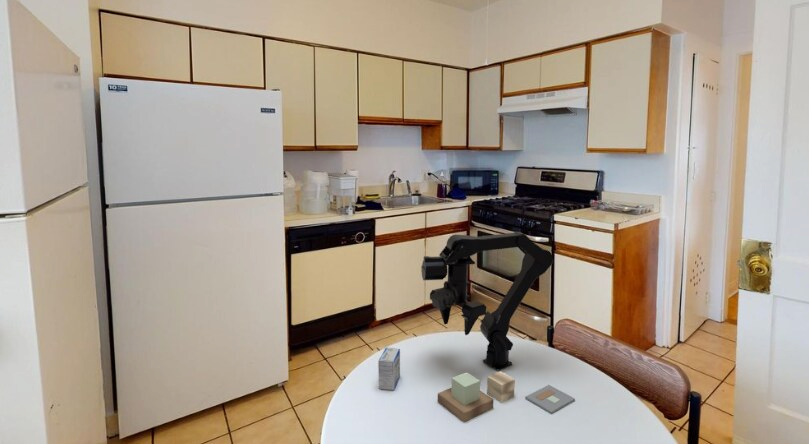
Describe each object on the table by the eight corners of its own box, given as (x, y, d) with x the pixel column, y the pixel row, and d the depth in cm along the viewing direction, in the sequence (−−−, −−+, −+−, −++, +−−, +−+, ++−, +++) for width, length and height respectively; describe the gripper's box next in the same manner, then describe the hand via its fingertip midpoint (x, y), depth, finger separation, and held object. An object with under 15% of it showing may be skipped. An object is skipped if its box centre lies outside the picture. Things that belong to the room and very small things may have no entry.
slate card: (548, 386, 117) (548, 384, 116) (574, 400, 110) (575, 398, 110) (525, 398, 111) (525, 396, 111) (551, 414, 104) (551, 411, 104)
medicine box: (394, 391, 114) (394, 361, 113) (378, 389, 115) (378, 359, 114) (400, 376, 122) (400, 348, 120) (385, 374, 123) (385, 346, 121)
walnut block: (466, 391, 115) (466, 381, 114) (493, 410, 107) (493, 399, 106) (437, 403, 109) (437, 393, 109) (463, 424, 101) (464, 413, 101)
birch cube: (499, 387, 116) (500, 371, 115) (513, 396, 112) (514, 379, 111) (486, 393, 113) (487, 376, 112) (501, 402, 109) (501, 385, 108)
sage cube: (466, 389, 110) (466, 372, 110) (479, 399, 106) (480, 380, 106) (451, 395, 108) (451, 377, 107) (464, 405, 104) (465, 387, 103)
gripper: (416, 275, 125) (415, 324, 128) (458, 292, 110) (457, 348, 113) (444, 269, 132) (443, 316, 134) (488, 285, 117) (486, 338, 119)
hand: (456, 329), depth 125 cm, fingers open, 9 cm apart
